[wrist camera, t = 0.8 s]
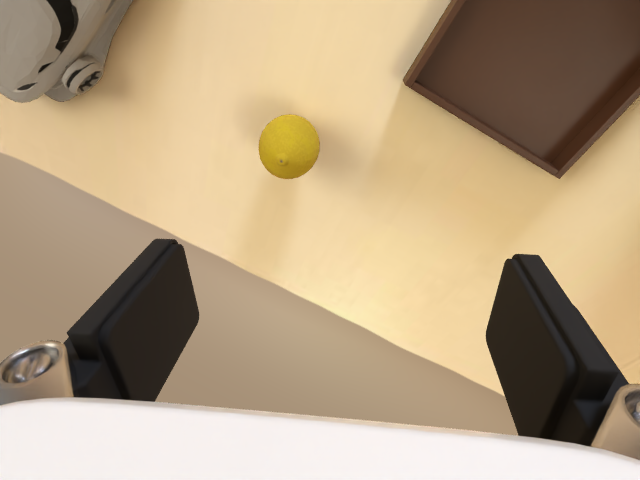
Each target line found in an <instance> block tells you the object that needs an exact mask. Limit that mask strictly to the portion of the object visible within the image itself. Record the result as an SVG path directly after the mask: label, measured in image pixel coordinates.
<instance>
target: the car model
mask: <svg viewBox="0 0 640 480" xmlns="http://www.w3.org/2000/svg"><path fill="white" fill-rule="evenodd" d="M132 1H133V0H0V93H1V94H3V95H4V96H6V97H7V98H9V99H10V100H13V101H15V102H21V103H23V102H30V101H32V100H35V99H37V98H39V97H40V96H41V95H43V94H45V95H47V96H49V97H50V98H52V99H53V100H56V101H59V102H64V101H67V100H70V99H72V98H73V97H75V96H77V95H81V94H83V93H85V92H87V91H88V90H90V89H91V88H92V87H93V86H94V85H96V84H97V83H98V82H99V80H100V79H101V77H102V75H103V72H104V64H105V61H106V57H107V54H108V50H109V47H110V43H111V39H112V37H113V35H114V33H115V31H116V30H117V28H118V26H119V24H120V22H121V20H122V19H123V17H124V15H125V13H126V11H127V9H128V8H129V6H130V4H131V3H132Z"/></svg>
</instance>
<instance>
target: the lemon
mask: <svg viewBox="0 0 640 480" xmlns="http://www.w3.org/2000/svg"><path fill="white" fill-rule="evenodd" d="M319 144H320V142H319V138H318V134H317V132H316V130H315V128H314V127H313V126H312V124H311V123H310V122H309V121H307V120H306V119H304V118H303V117H300V116H297V115H290V114H289V115H282V116H280V117H277V118H275V119H274V120H272V121H271V122H270V123H269V124H268V125H267V126H266V127H265V129H264V130H263V132H262V135H261V137H260V140H259V155H260V159H261V161H262V163H263V165H264V166H265V168H266V169H267V170H268V171H269V172H270V173H271V174H273V175H275V176H277V177H279V178H283V179H293V178H297V177H300V176H301V175H303V174H305V173H306V172H307V171H309V170H310V169H311V168H312V166H313V165H314V163H315V162H316V160H317V157H318V154H319Z"/></svg>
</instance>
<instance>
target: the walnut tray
mask: <svg viewBox="0 0 640 480" xmlns="http://www.w3.org/2000/svg"><path fill="white" fill-rule="evenodd" d="M403 81H404V83H405V85H406V86H408V87H409V88H411V89H413V90H414V91H416V92H417V93H419V94H421V95H422V96H424V97H426V98H427V99H429V100H431V101H432V102H434V103H435V104H437V105H439V106H440V107H442V108H444V109H445V110H447V111H449V112H450V113H452V114H454V115H455V116H457V117H458V118H460V119H462V120H463V121H465V122H467V123H468V124H470V125H472V126H473V127H475V128H477V129H478V130H480V131H481V132H483V133H485V134H486V135H488V136H490V137H491V138H493V139H495V140H496V141H498V142H499V143H501V144H503V145H504V146H506V147H508V148H509V149H511V150H513V151H514V152H516V153H518V154H519V155H521V156H522V157H524V158H526V159H527V160H529V161H531V162H532V163H534V164H536V165H537V166H539V167H540V168H542V169H544V170H545V171H547V172H549V173H550V174H552V175H554V176H555V177H557V178H559V179H560V178H561V177H562V176H563V175H564V174H565V172H566V171H567V170H568V169H569V168H570V167H571V166H572V165H573V164H574V163H575V162H576V161H577V160H578V159H579V158H580V157H581V156H582V155H583V154H584V153H585V152H586V151H587V150H588V149H589V148H590V147H591V146H592V145H593V143H594V142H595V141H596V140H597V139H598V138H599V137H600V136H601V135H602V134H603V133H604V132H605V131H606V130H607V129H608V128H609V127H610V126H611V125H612V124H613V123H614V122H615V121H616V120H617V119H618V118H619V117H620V116H621V114H622V113H623V112H624V111H625V110H626V109H627V108H628V107H629V106H630V105H631V104H632V103H633V102H634V101H635V100H636V99H637V98H638V97H639V96H640V0H451V2H450V4H449V5H448V7H447V8H446V10H445V12H444V13H443V15H442V17H441V18H440V20H439V22H438V23H437V25H436V26H435V28H434V30H433V31H432V33H431V35H430V36H429V38H428V40H427V41H426V43H425V44H424V46H423V48H422V49H421V51H420V53H419V54H418V56H417V57H416V59H415V61H414V62H413V64H412V66H411V67H410V69H409V71H408V72H407V74H406V75H405V77H404V79H403Z"/></svg>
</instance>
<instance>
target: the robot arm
mask: <svg viewBox="0 0 640 480" xmlns="http://www.w3.org/2000/svg"><path fill="white" fill-rule="evenodd" d="M198 320H199V311H198V306H197V302H196V298H195V294H194V289H193V285H192V281H191V276H190V272H189V268H188V264H187V260H186V255H185V251H184V248H183V246H182V245H181V244H178V242H177V241H176V240H174V239H155V240H154V241H152V243H151V244H150V245H149V246H148V247H147V248H146V249H145V250H144V251H143V252H142V253H141V254H140V255H139V256H138V257H137V258H136V260H134V262H133V263H132V264H131V265H130V266H129V267H128V268H127V269H126V270H125V271H124V272H123V273H122V274H121V275H120V276H119V278H118V279H117V280H116V281H115V282H114V283H113V284H112V285H111V286H110V287H109V288H108V289H107V290H106V291H105V292H104V293H103V295H102V296H101V297H100V298H99V299H98V300H97V301H96V302H95V303H94V304H93V305H92V306H91V307H90V308H89V310H88V311H87V312H86V313H85V314H84V315H83V316H82V317H81V318H80V319H79V320H78V321H77V322H76V323H75V324H74V325H73V326H72V327H71V328H70V330H69V331H68V332H67V334H68V336H69V338H68V339H67V340H66V341H65V342H64V343H63V344H62V343H61V342H59V341H53V340H47V341H40V342H36V343H32V344H30V345H27V346H25V347H23V348H20V349H19V350H17V351H15V352H14V353H12V354H11V355H9V356H8V357H7V358H6V359H4V360H3V361H2V362H1V363H0V480H640V384H629V383H628V382H627V380H626V379H625V377H624V376H623V374H622V373H621V371H620V370H619V369H618V367H617V366H616V364H615V363H614V361H613V360H612V358H611V357H610V356H609V354H608V353H607V351H606V350H605V348H604V347H603V345H602V344H601V342H600V341H599V340H598V338H597V337H596V335H595V334H594V332H593V331H592V329H591V328H590V327H589V325H588V324H587V322H586V321H585V319H584V318H583V316H582V315H581V313H580V312H579V311H578V309H577V308H576V307H575V306H574V305H573V304H572V303H571V301H570V300H569V298H568V297H567V296H566V294H565V293H564V291H563V290H562V288H561V287H560V285H559V284H558V282H557V281H556V279H555V278H554V276H553V275H552V274H551V272H550V271H549V269H548V268H547V266H546V265H545V263H544V262H543V260H542V259H541V257H540V256H539V255H527V254H515V255H514V256H513V257H512V259H507V260H506V261H505V264H504V267H503V271H502V275H501V278H500V282H499V286H498V289H497V293H496V297H495V300H494V304H493V308H492V311H491V315H490V319H489V322H488V326H487V330H486V342H487V345H488V348H489V351H490V354H491V357H492V360H493V363H494V366H495V368H496V371H497V374H498V377H499V380H500V383H501V386H502V389H503V391H504V394H505V397H506V400H507V403H508V406H509V409H510V412H511V415H512V417H513V420H514V423H515V426H516V429H517V432H518V435H519V436H516V435H507V434H498V433H489V432H480V431H471V430H461V429H451V428H441V427H430V426H419V425H409V424H398V423H388V422H378V421H367V420H356V419H345V418H333V417H324V416H313V415H301V414H290V413H279V412H267V411H257V410H256V411H255V410H244V409H233V408H222V407H209V406H198V405H185V404H174V403H162V402H155V400H156V398H157V396H158V394H159V393H160V391H161V389H162V387H163V385H164V383H165V382H166V380H167V378H168V376H169V374H170V372H171V371H172V369H173V367H174V365H175V364H176V362H177V360H178V358H179V356H180V354H181V353H182V351H183V349H184V347H185V345H186V343H187V342H188V340H189V338H190V336H191V334H192V333H193V331H194V329H195V327H196V325H197V323H198Z"/></svg>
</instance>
